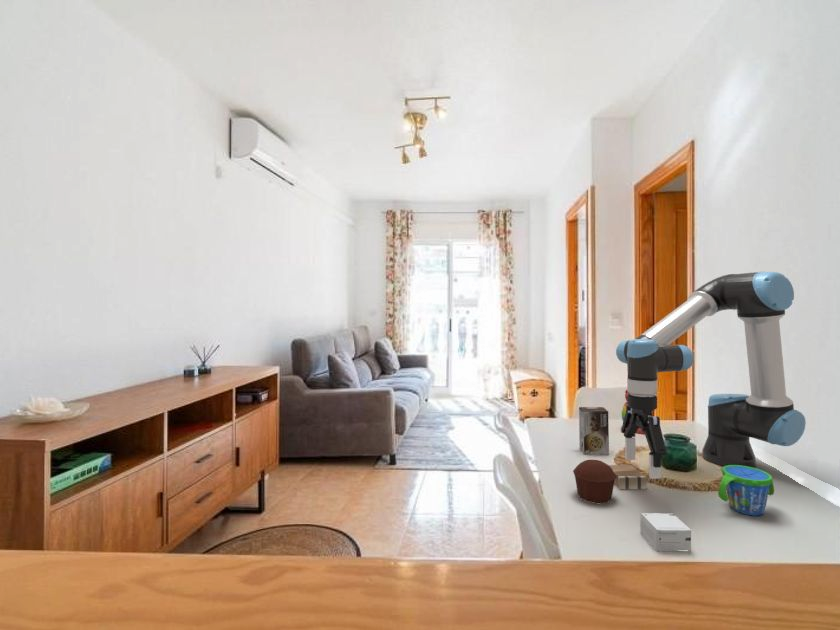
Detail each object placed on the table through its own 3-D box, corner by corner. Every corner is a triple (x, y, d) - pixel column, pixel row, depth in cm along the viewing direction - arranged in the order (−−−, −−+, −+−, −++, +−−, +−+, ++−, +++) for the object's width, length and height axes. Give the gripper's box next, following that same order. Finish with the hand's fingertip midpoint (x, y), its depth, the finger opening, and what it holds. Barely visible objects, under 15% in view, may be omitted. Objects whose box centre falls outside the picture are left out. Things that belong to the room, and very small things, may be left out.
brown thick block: (646, 477, 127) (630, 464, 137) (619, 477, 127) (605, 465, 137) (646, 489, 127) (630, 475, 137) (619, 489, 127) (605, 475, 137)
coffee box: (603, 449, 162) (603, 406, 161) (609, 455, 155) (609, 411, 155) (578, 448, 163) (578, 406, 162) (583, 454, 156) (583, 410, 156)
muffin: (596, 509, 115) (596, 472, 114) (564, 493, 125) (564, 459, 124) (625, 499, 120) (625, 464, 120) (592, 485, 130) (592, 452, 130)
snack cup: (735, 521, 108) (735, 481, 107) (703, 502, 118) (704, 466, 118) (792, 518, 109) (792, 478, 109) (755, 499, 120) (756, 463, 119)
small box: (655, 552, 95) (656, 529, 95) (639, 533, 103) (639, 512, 103) (692, 552, 95) (692, 529, 95) (672, 533, 103) (672, 512, 103)
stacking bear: (623, 433, 181) (623, 391, 180) (617, 426, 191) (617, 386, 190) (651, 434, 178) (651, 392, 178) (644, 427, 188) (644, 387, 188)
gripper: (682, 404, 109) (681, 486, 109) (633, 385, 133) (633, 452, 134) (652, 404, 109) (652, 487, 109) (609, 385, 134) (609, 453, 134)
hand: (641, 468), depth 122 cm, fingers open, 13 cm apart
